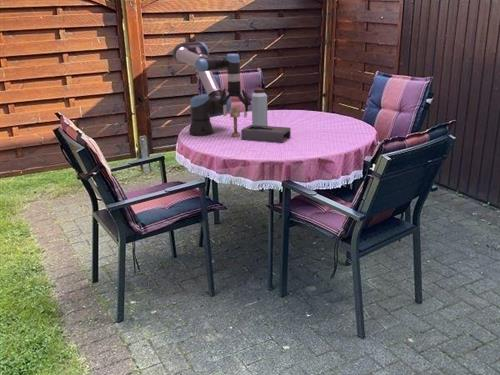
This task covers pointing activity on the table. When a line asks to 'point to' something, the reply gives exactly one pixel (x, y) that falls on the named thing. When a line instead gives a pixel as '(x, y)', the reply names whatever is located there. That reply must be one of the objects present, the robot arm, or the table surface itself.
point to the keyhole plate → (265, 133)
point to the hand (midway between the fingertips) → (235, 116)
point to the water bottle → (259, 107)
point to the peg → (235, 120)
